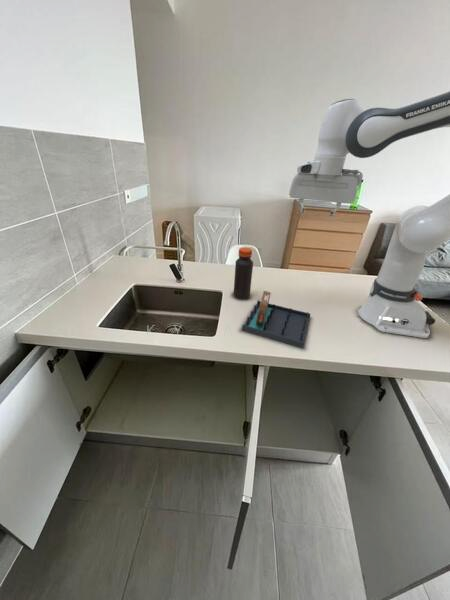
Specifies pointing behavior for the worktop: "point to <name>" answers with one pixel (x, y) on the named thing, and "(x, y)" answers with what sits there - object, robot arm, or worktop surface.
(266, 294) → the brown flat piece
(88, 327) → the worktop surface
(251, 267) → the bottle
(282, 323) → the tray
